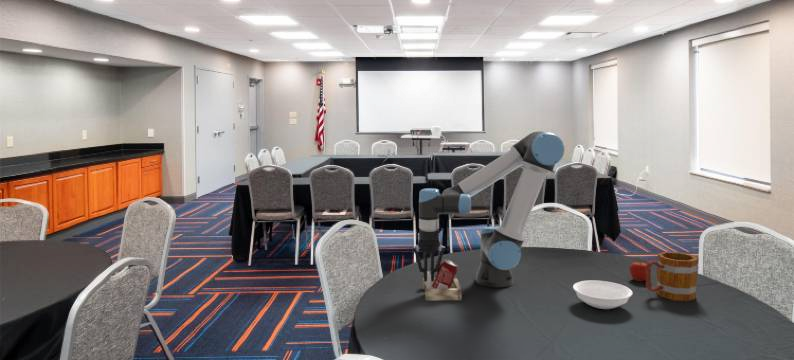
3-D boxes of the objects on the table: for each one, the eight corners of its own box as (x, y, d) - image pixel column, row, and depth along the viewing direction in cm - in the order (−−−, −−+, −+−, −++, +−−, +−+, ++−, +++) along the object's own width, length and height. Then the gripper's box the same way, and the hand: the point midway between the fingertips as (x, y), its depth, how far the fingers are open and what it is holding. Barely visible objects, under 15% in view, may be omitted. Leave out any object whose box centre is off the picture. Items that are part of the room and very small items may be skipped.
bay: (456, 287, 204) (456, 277, 204) (461, 299, 190) (461, 289, 190) (423, 288, 204) (422, 278, 204) (425, 300, 190) (425, 290, 190)
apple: (651, 284, 206) (652, 265, 205) (630, 282, 208) (631, 263, 207) (648, 278, 213) (649, 260, 212) (628, 276, 215) (629, 258, 214)
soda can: (446, 296, 193) (459, 268, 192) (430, 289, 194) (442, 260, 193) (447, 292, 200) (459, 264, 199) (431, 285, 200) (443, 257, 199)
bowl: (634, 320, 170) (635, 301, 170) (571, 312, 177) (572, 295, 176) (629, 299, 189) (630, 283, 188) (572, 294, 196) (573, 277, 195)
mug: (678, 287, 201) (680, 250, 199) (704, 299, 188) (707, 260, 186) (633, 291, 197) (635, 253, 196) (657, 304, 184) (659, 263, 182)
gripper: (444, 226, 198) (444, 285, 201) (411, 227, 198) (411, 286, 200) (447, 231, 190) (446, 292, 193) (412, 231, 190) (412, 292, 193)
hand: (428, 289), depth 197 cm, fingers closed
